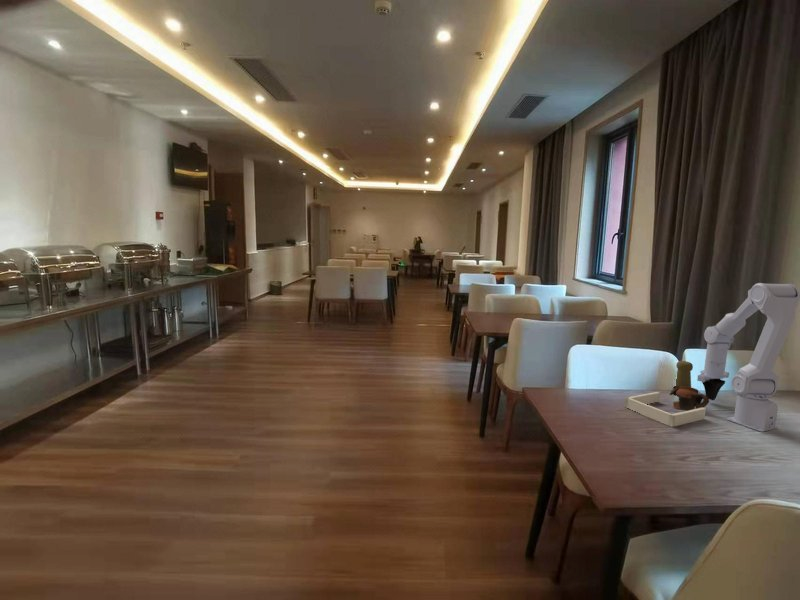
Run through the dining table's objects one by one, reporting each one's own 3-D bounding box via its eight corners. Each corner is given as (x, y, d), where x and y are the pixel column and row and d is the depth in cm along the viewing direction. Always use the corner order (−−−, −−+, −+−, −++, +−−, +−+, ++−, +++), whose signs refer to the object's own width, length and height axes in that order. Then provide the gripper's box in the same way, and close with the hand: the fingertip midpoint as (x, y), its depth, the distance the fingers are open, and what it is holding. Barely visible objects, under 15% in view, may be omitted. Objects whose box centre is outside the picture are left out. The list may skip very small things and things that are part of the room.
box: (704, 419, 132) (705, 408, 132) (671, 426, 126) (673, 415, 125) (656, 401, 147) (657, 391, 146) (624, 407, 140) (625, 397, 140)
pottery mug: (662, 407, 143) (665, 383, 146) (677, 414, 147) (679, 392, 150) (702, 410, 133) (703, 385, 136) (716, 418, 137) (717, 394, 140)
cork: (675, 391, 158) (678, 362, 157) (670, 385, 164) (673, 358, 162) (693, 393, 156) (697, 364, 155) (687, 387, 162) (691, 360, 161)
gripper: (715, 356, 151) (710, 392, 153) (690, 360, 145) (685, 397, 147) (737, 361, 144) (732, 399, 146) (712, 365, 139) (707, 404, 140)
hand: (710, 399), depth 146 cm, fingers closed
